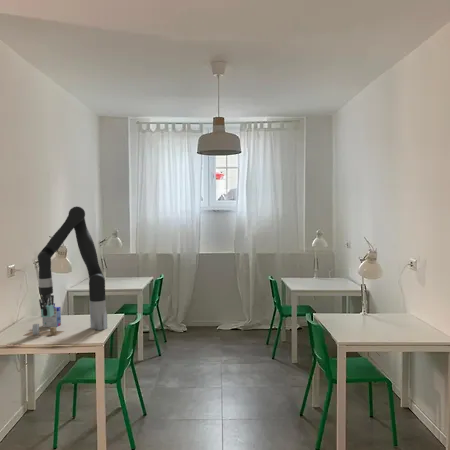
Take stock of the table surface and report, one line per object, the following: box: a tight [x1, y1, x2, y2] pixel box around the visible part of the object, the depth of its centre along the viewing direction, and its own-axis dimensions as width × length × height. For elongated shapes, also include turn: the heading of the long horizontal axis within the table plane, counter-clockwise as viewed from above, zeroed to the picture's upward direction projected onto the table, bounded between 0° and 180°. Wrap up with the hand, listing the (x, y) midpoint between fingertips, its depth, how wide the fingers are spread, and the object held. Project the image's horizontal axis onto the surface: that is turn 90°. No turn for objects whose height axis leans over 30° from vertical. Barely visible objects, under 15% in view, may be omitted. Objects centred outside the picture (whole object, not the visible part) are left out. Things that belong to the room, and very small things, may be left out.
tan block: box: [49, 327, 58, 335], centre depth 294 cm, size 3×3×4 cm
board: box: [22, 330, 65, 337], centre depth 298 cm, size 20×11×1 cm, turn 83°
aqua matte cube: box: [40, 305, 54, 318], centre depth 300 cm, size 5×5×6 cm
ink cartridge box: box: [41, 303, 62, 328], centre depth 316 cm, size 10×6×14 cm, turn 81°
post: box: [32, 323, 40, 335], centre depth 295 cm, size 3×3×6 cm
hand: (47, 314), depth 300 cm, fingers closed on aqua matte cube, 5 cm apart
